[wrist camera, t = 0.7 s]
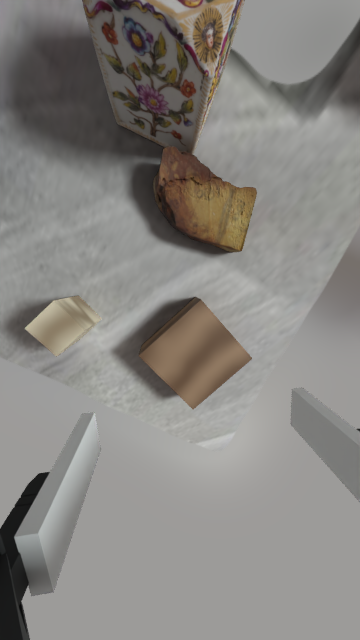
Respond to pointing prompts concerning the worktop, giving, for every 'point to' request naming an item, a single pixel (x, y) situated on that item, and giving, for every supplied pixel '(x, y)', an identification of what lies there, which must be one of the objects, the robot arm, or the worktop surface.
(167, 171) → the stone
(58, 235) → the worktop surface
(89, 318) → the oak block
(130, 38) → the decorative jar
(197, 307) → the plinth
